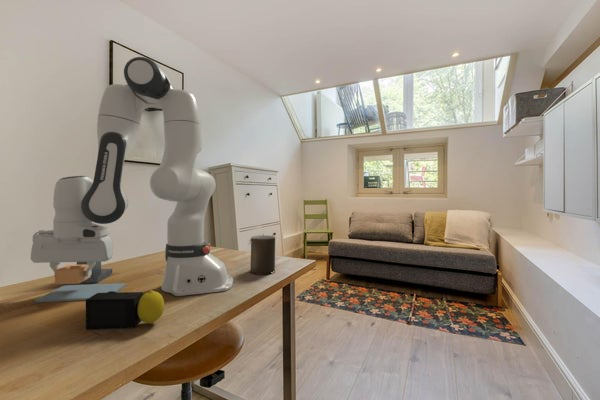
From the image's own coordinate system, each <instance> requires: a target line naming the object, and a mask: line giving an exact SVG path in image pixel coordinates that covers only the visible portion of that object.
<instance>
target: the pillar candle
mask: <svg viewBox="0 0 600 400" xmlns="http://www.w3.org/2000/svg"><path fill="white" fill-rule="evenodd" d="M275 270H276V236H274V235H265V234H264V233H262V235H261V234H260V235H254V236H253V235H252V236H251V237H250V273H252V274H255V273H256V275H266V274H265V273H271V272H273V271H274V272H276V271H275ZM274 272H273V273H274ZM271 274H272V273H271Z"/></svg>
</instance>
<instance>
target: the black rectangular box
mask: <svg viewBox="0 0 600 400" xmlns="http://www.w3.org/2000/svg"><path fill="white" fill-rule="evenodd" d="M143 295H144V292H143V291H130V292H129V291H128V292H127V291H125V292H122V291H121V292H120V291H118V292H114V291H110V292H107V293H97V294H95V295H93V296H91V297H90V298H88V299H86V300H85V330H86V331H88V330H89V331H90V330H91V331H92V330H94V331H95V330H117V329H118V330H120V329H123V330H124V329H127V330H128V329H135V328H137V326H138V325H139V324H140V323H141V322H143V321H142V320H141V319H140V318H139V316H138V311H137V308H138V303H139V300H140V298H141V297H142V296H143Z"/></svg>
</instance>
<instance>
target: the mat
mask: <svg viewBox="0 0 600 400" xmlns="http://www.w3.org/2000/svg"><path fill="white" fill-rule="evenodd" d="M126 286H127V283H126V282H124V283H123V282H121V283H88V284H63V285H61V286H60V287H58V288H56V289H55V290H53V291H50V292H49V293H46V294H44V295H43V296H42V295H41V297H39V298H37V299H35V300H34V303H53V302H54V303H55V302H56V303H57V302H73V301H74V302H75V301H76V302H78V301H79V302H80V301H86V299H88V298H90V297H91V296H93V295H95V294H97V293H107V292H110V291H114V292H120V290H122V289H123V288H125V287H126Z"/></svg>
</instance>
